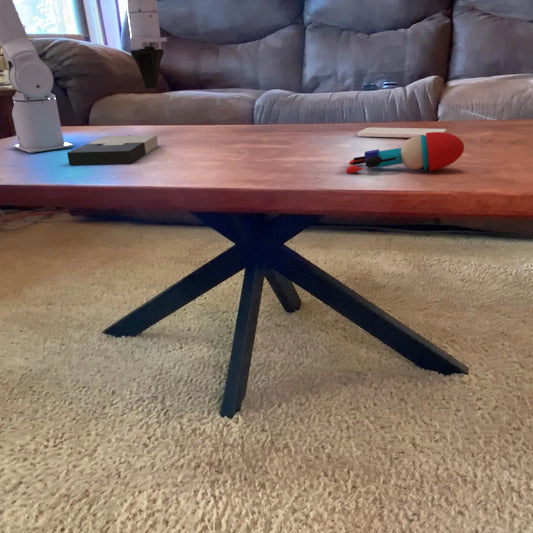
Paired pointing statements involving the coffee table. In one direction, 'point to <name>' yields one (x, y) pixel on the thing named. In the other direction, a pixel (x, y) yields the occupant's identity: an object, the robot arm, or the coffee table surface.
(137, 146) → the black pad
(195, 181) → the coffee table surface
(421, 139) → the toy figure
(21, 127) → the robot arm
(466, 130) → the coffee table surface
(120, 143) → the grey pad
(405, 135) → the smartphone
